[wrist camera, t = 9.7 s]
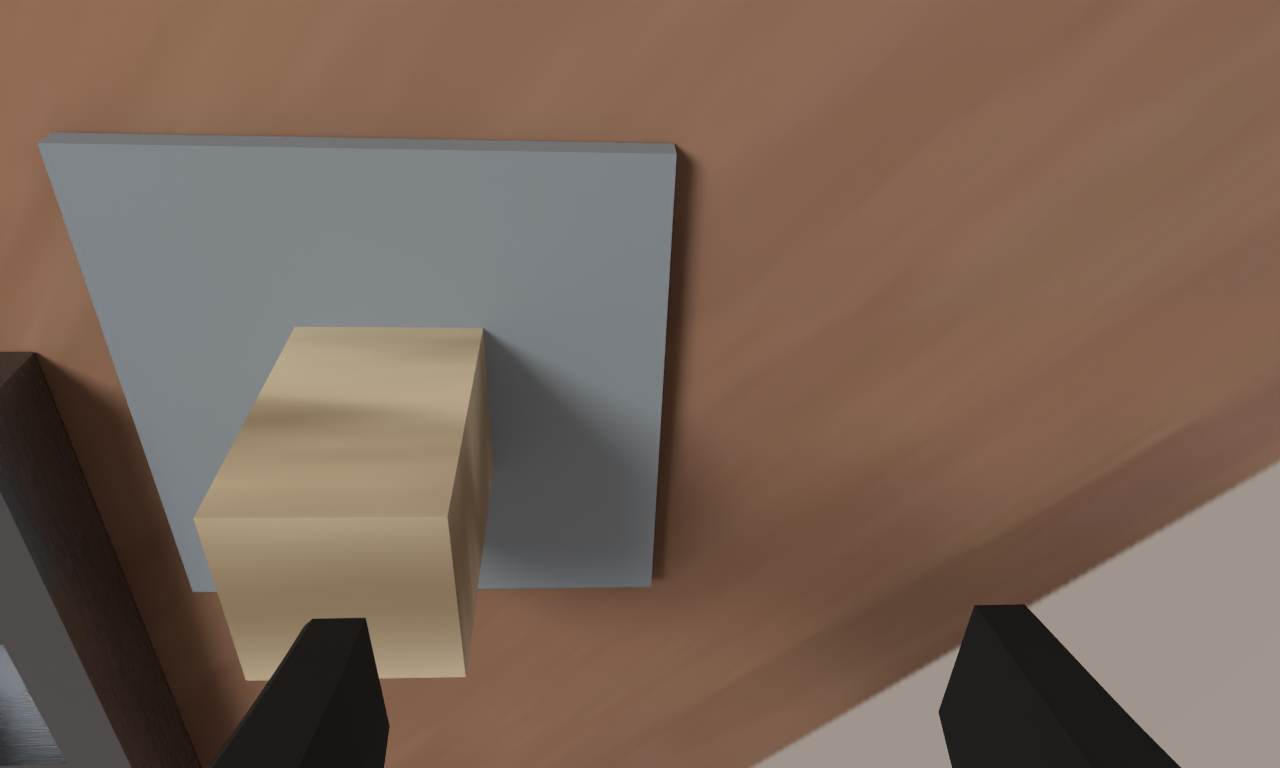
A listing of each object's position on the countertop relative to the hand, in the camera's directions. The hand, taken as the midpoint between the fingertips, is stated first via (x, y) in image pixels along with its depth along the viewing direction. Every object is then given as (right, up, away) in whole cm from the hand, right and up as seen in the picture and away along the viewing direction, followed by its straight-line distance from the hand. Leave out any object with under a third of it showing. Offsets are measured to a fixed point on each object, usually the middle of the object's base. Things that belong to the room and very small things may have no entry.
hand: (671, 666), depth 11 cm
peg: (-6, +3, +10) cm, 12 cm away
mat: (-6, +3, +10) cm, 12 cm away
